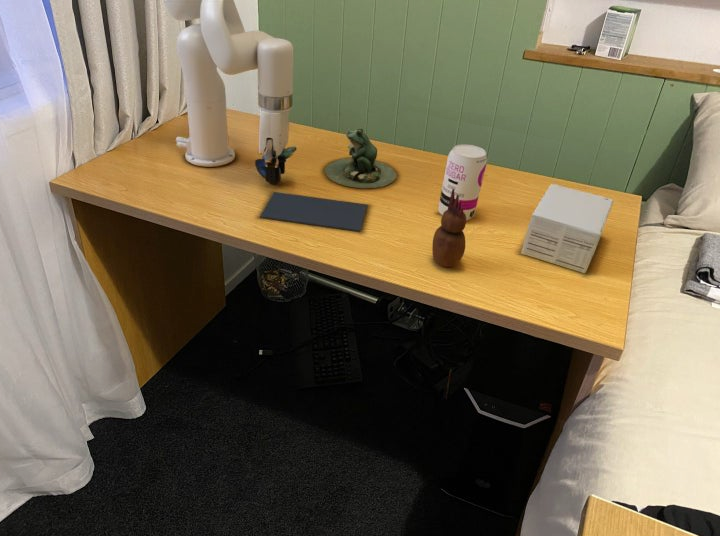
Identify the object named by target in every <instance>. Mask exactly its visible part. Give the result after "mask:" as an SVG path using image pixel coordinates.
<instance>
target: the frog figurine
mask: <svg viewBox="0 0 720 536" xmlns="http://www.w3.org/2000/svg"><path fill="white" fill-rule="evenodd" d="M345 137H346V138H347V139H348V140H349V142H350V143H349V144H348V145H347V148H348V149H349V152H348V154H349V156H351V158H342V159H338V160H335V161H332V162H331V163H329V164H327V165H326V167H325V168H324V173H325V176H326V177H327V178H328V179H329V180H331V181H332V182H334V183H336V184H339V185H341V186H345V187H350V188H356V189H357V188H358V189H376V188H383V187H385V186H387V185H390V184H392V183H393V182H394V181H395V180H396V178H397V173H396V171H395V169H393V168H392V167H391V166H390V165H388V164H386V163H383V162H381V161H378V160H377V157H378V148H377V146H375V145H374V143H372V142H371V140H370V138H369V136H368V135H367V134H366V133H365V132H364V129H363V127H358V128H357V129H355V130H353V129H352V130H349V131H346V134H345Z"/></svg>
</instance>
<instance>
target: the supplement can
mask: <svg viewBox="0 0 720 536" xmlns="http://www.w3.org/2000/svg"><path fill="white" fill-rule="evenodd" d="M487 164H488V157H487V152H486V150H485V149H483V148H482V147H480V146H477V145H473V144H456V145H454V146H453V147H452V149H451V151H450V152H449V153H448V155H447V160H446V166H445V170H444V174H443V181H442V186H441V192H440V196H439V202H438V206H437V210H438V212H439V213H440V215H441V216H442V215H443V213H444V212H445V211H446V210H448V206H449V201H450V197H451V193H452V189H454V198H455V199H456V197H457V195H459V201H458V204H459V202H461V208H463V212H464V213H465V215H466V221H469V220H470V219H472V218H473V217H474V216H475V214H476V210H477V206H478V201H479V197H480V193H481V190H482V185H483V180H484V176H485V172H486V168H487Z"/></svg>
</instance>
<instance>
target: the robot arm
mask: <svg viewBox="0 0 720 536" xmlns="http://www.w3.org/2000/svg"><path fill="white" fill-rule="evenodd" d="M163 3H164V5H165V8H166V10H167V11H168V13H169V15H170V16H171V17H172V19H174V20H177V21H181V22H182V21H185V22H186V21H192V20H197V19H198V20H199V22H200V23H196V24H191V25H189V26H187V27H185V28H184V29H182V30H181V31H180V32H179V33H178V35H177V37H176V42H175V43H176V44H175V45H176V46H175V47H176V52H177V57H178V60H179V63H180V67H181V71H182V77H183V83H184V92H185V100H186V112H187V122H188V133H189V136H188V137H184V136H177V137H176V138H175V143H176V144H175V145H176V148H179V149H185V150H186V151H185V152H184V153H185V154H184V155H185V157H184V158H185V160H186V161H187V162H188V163H190V164H192V165H195V166H197V167H204V168H205V167H207V168H210V167H211V168H212V167H213V168H214V167H220V166H224V165H225V166H226V165H227V164H229V163H231V162H233V161H234V160H235V159H236V153H235V150H234V149H233V148H231V147H230V146H229V135H228V133H229V131H228V115H227V112H228V111H227V93H226V86H225V82H224V80H223V78H222V77H221V75H220V73H219V71H220V72H222V73H223V74H225V75H228V76H229V75H230V76H233V75H239V74H242V73H246V72H248V71H254V70H257V101H258V102H257V104H258V109H259V110H260V115H259V126H258V127H259V129H258V154H259V155H264V154H265V153H266V154H265V162H266V179H265V181H266V182H267V183H269V182H272V183H278V184H280V182H281V181H280V171H281V175H284V174H285V173H286V162H285V161H281V162H279V163H278V161H279V155H280V154H281V153H282V151H283V150H284V149H286V146H287V145H288V143H289V137H290V111H291V110H292V109H293V104H294V103H293V102H294V101H293V100H294V98H293V97H294V95H293V94H294V91H293V90H294V89H293V88H294V45H293V44H292V42H290V40H287V39H284V38H279V37H274V36H272V35H270V34H268V33H267V32H265V31H262V30H250V31H245V26H244V24H243V21H242V19H241V17H240V14H239V10H238V8H237V5H236V3H235V0H163ZM218 70H219V71H218ZM272 151H276V153H272ZM272 157H275V160H274V159H272ZM279 181H280V182H279Z"/></svg>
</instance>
